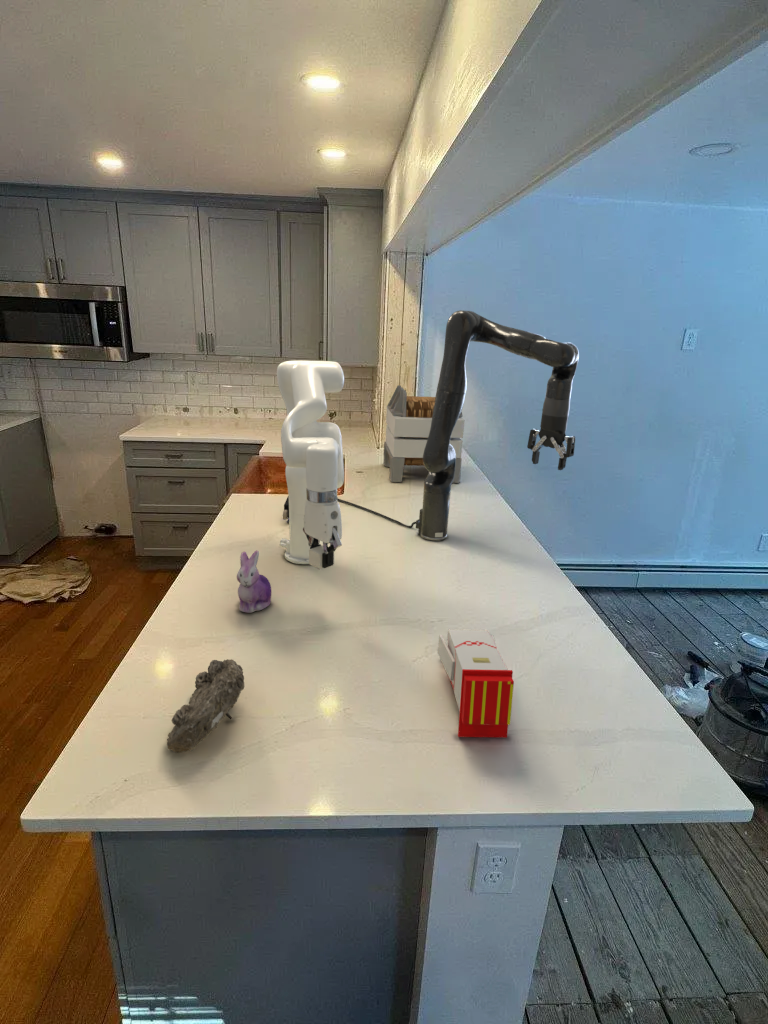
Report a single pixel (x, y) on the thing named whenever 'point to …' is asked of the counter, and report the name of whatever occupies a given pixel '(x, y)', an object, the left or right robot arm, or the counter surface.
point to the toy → (478, 682)
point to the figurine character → (286, 510)
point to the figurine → (252, 585)
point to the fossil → (206, 705)
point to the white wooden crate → (413, 433)
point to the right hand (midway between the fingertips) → (547, 466)
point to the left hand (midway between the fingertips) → (321, 562)
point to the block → (316, 556)
